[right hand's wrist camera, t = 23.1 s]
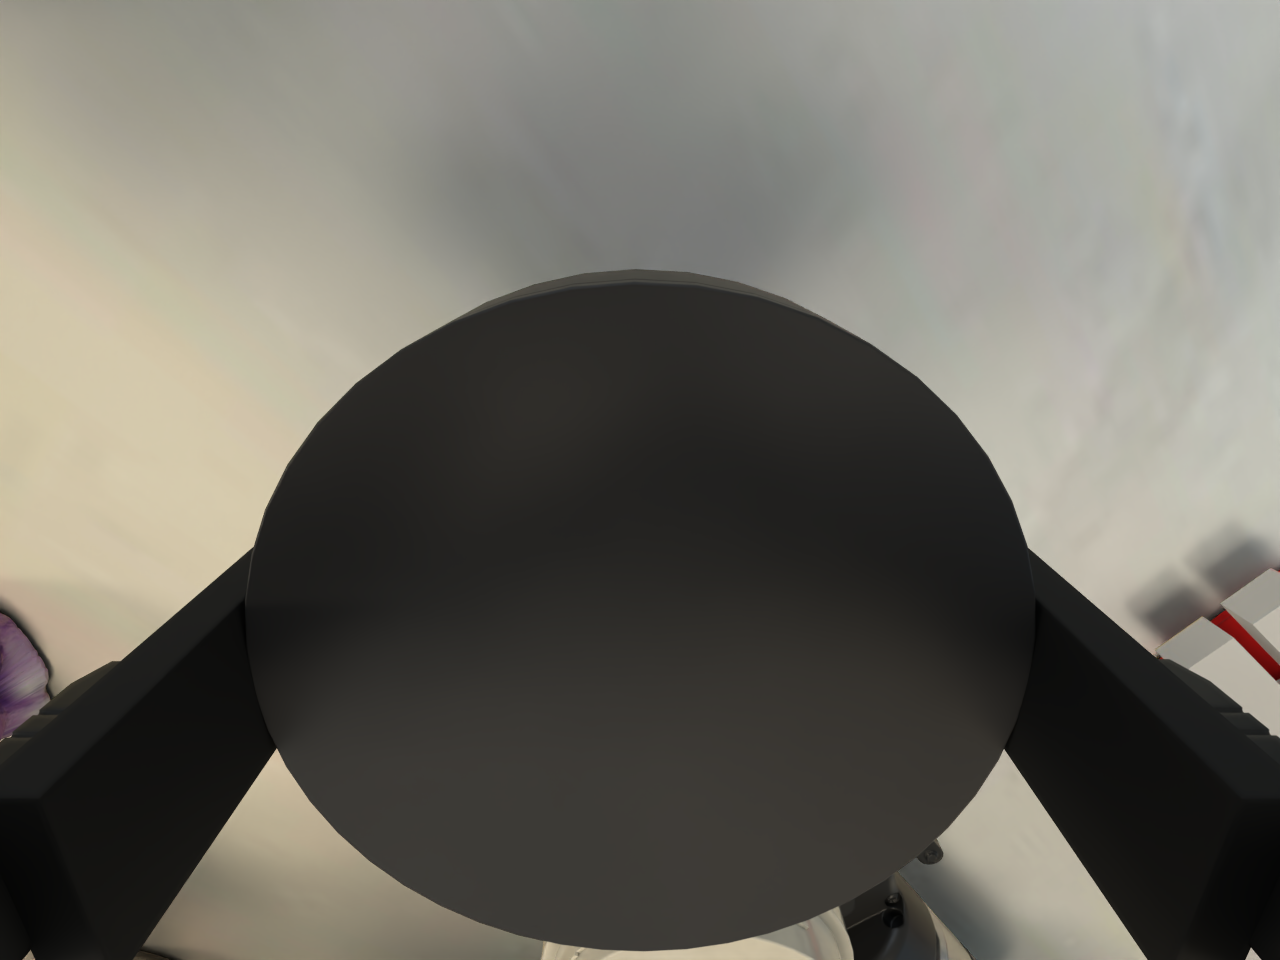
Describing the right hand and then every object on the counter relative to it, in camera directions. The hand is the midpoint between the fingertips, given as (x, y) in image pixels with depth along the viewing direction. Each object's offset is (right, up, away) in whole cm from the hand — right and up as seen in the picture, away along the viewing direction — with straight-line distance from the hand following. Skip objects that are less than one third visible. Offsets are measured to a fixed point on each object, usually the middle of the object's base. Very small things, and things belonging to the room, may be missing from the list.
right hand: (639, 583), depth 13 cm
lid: (0, -1, -3) cm, 3 cm away
